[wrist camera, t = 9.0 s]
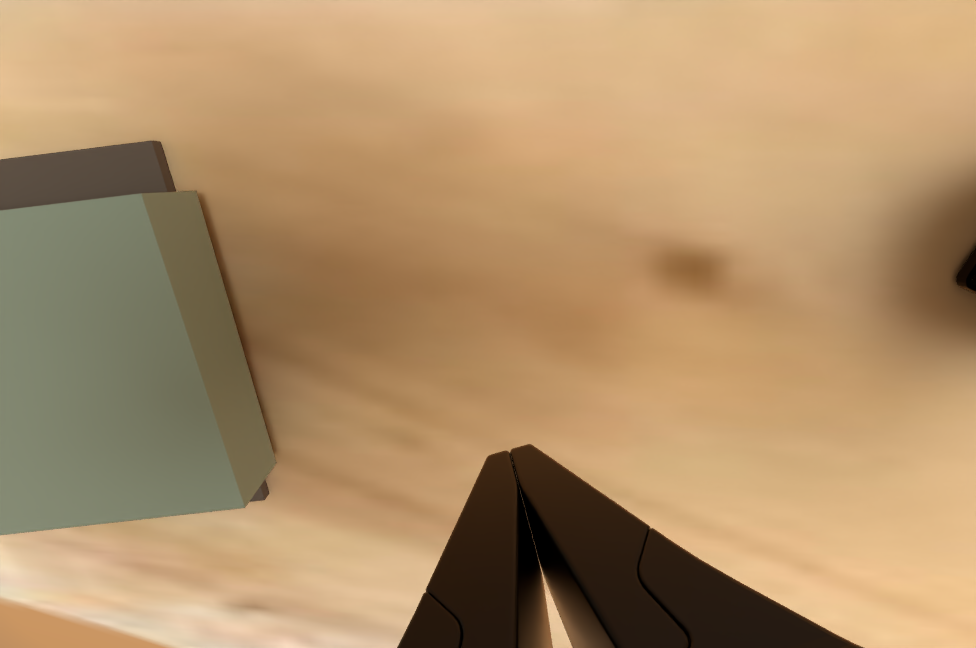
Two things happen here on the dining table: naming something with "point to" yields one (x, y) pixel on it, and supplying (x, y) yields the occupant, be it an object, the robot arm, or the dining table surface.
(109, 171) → the mat
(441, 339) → the dining table surface
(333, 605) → the dining table surface
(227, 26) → the dining table surface
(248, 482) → the glazed tile block
